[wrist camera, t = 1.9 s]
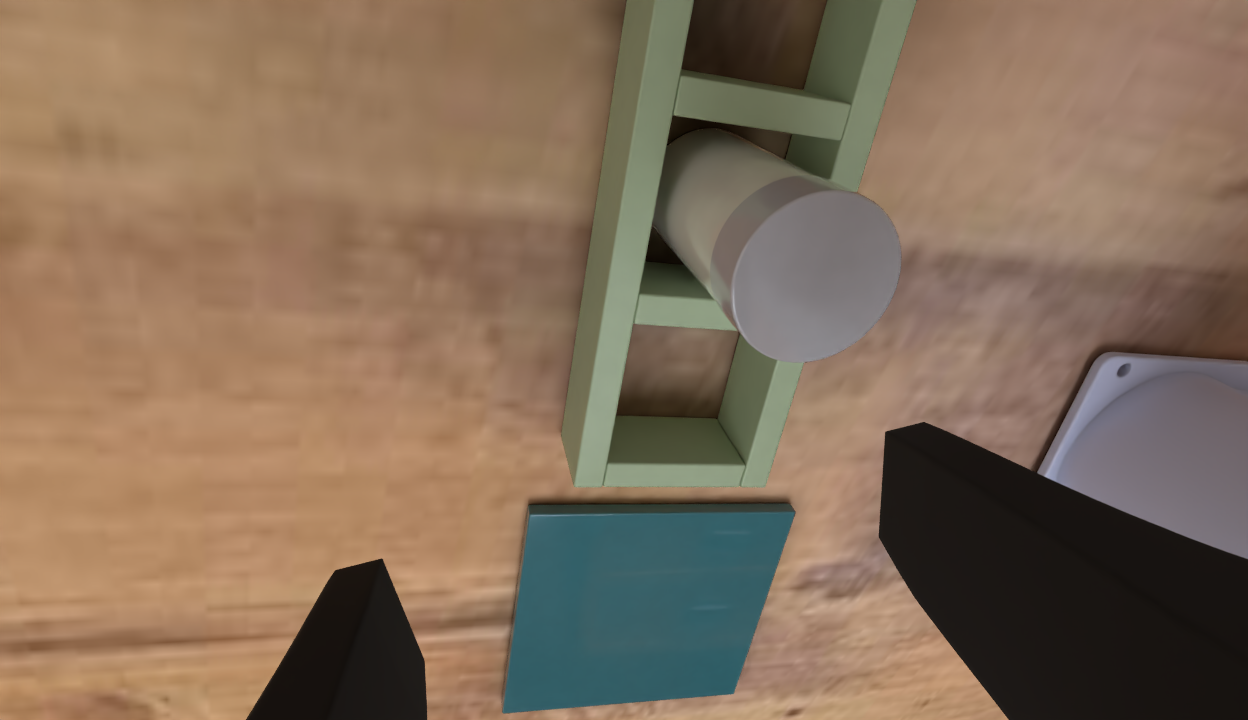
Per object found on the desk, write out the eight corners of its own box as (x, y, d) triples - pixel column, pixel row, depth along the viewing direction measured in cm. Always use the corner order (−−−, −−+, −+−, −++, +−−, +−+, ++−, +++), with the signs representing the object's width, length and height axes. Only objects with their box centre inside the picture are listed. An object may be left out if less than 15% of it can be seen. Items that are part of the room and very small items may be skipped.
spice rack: (893, -131, 16) (964, -150, 14) (734, 439, 22) (765, 488, 20) (656, -197, 14) (692, -231, 12) (560, 435, 21) (573, 488, 19)
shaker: (778, 135, 18) (928, 202, 12) (746, 258, 19) (869, 367, 14) (655, 116, 17) (757, 180, 11) (631, 246, 18) (712, 359, 13)
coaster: (790, 502, 24) (796, 511, 24) (729, 683, 28) (734, 694, 27) (527, 503, 22) (529, 514, 21) (501, 701, 25) (502, 714, 25)
